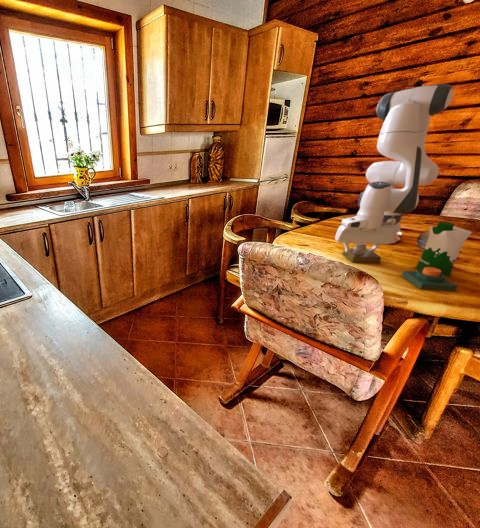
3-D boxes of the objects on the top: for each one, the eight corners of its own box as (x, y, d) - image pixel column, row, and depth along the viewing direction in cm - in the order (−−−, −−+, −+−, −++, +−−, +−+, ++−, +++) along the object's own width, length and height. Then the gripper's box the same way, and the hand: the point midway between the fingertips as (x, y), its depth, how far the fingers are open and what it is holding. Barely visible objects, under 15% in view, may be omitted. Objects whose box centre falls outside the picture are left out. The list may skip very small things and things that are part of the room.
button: (419, 271, 104) (421, 266, 103) (433, 272, 103) (435, 267, 102) (427, 276, 100) (429, 271, 99) (442, 277, 99) (444, 272, 98)
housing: (401, 275, 109) (404, 266, 107) (432, 277, 107) (436, 268, 105) (420, 289, 99) (424, 279, 98) (455, 291, 97) (460, 281, 95)
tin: (413, 245, 136) (420, 229, 132) (419, 245, 136) (426, 228, 132) (448, 257, 122) (457, 239, 118) (455, 256, 122) (463, 238, 119)
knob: (355, 254, 122) (357, 245, 120) (351, 251, 126) (353, 242, 124) (365, 255, 121) (368, 246, 119) (361, 252, 124) (364, 243, 123)
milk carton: (411, 266, 115) (429, 220, 107) (437, 267, 114) (457, 220, 105) (427, 276, 108) (448, 226, 99) (455, 277, 106) (479, 226, 98)
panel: (339, 254, 131) (341, 247, 130) (367, 255, 128) (369, 248, 127) (350, 262, 122) (352, 256, 121) (380, 264, 119) (382, 257, 118)
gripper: (393, 220, 118) (382, 250, 123) (337, 219, 123) (330, 248, 128) (402, 224, 112) (391, 255, 118) (344, 223, 117) (335, 253, 123)
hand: (358, 252), depth 123 cm, fingers open, 8 cm apart
